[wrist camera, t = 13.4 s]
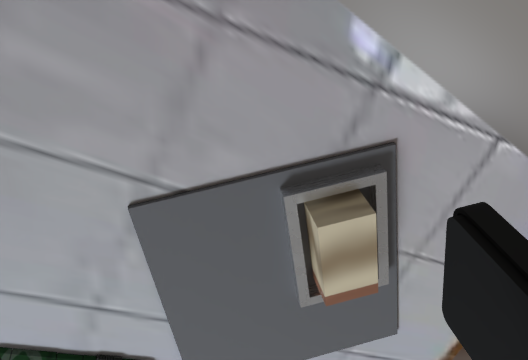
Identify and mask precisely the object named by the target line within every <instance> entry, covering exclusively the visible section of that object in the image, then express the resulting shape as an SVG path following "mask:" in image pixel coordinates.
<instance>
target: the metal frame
mask: <svg viewBox="0 0 528 360" xmlns="http://www.w3.org/2000/svg"><path fill="white" fill-rule="evenodd" d="M368 186H369V188H370V206H371V207H372V208H373V210H374V211H375V212H376V228H377V262H378V287H380V286H384V285H387V284H389V262H388V214H387V172H386V171H385V169H384V168H383V167H382V166H381V165H380V164H375V165H371V166H367V167H363V168H359V169H355V170H351V171H347V172H343V173H339V174H334V175H330V176H326V177H322V178H318V179H314V180H310V181H306V182H302V183H298V184H293V185H289V186H285V187H281V188H280V195H281V201H282V207H283V214H284V220H285V226H286V233H287V239H288V245H289V252H290V258H291V264H292V271H293V277H294V283H295V290H296V296H297V299H298V302H299V304H300V307H301V308H302V307H306V306H309V305H313V304H317V303H321V302H324V301H323V298H322V296H321V294H320V292H319V289H318V287H317V285H316V284H315V285H311V286H308V282H307V275H306V267H305V260H304V253H303V246H302V239H301V231H300V224H299V217H298V210H297V204H299V203H303V202H307V201H311V200H315V199H319V198H323V197H327V196H332V195H336V194H340V193H344V192H348V191H352V190H356V189H360V188H364V187H368Z"/></svg>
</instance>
